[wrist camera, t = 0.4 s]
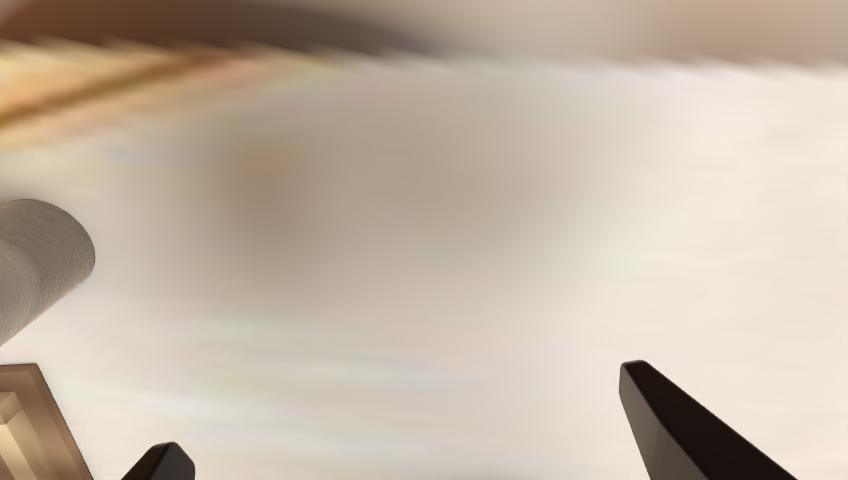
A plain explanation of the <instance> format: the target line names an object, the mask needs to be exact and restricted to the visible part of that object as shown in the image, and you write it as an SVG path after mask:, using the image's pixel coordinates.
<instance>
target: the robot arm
mask: <svg viewBox="0 0 848 480" xmlns="http://www.w3.org/2000/svg"><path fill="white" fill-rule="evenodd" d="M619 395H620V399H621V402H622V405H623V407H624V410H625V413H626V416H627V418H628V421H629V424H630V426H631V429H632V432H633V434H634V437H635V440H636V442H637V445H638V448H639V451H640V453H641V456H642V459H643V461H644V464H645V467H646V469H647V472H648V474H649V477H650V479H651V480H798V479H796V478H795V477H794V476H792V475H791V474H790V473H789V472H787V471H786V470H785V469H783V468H782V467H781V466H780V465H778V464H777V463H776V462H774V461H773V460H772V459H771V458H769V457H768V456H767V455H765V454H764V453H763V452H762V451H760V450H759V449H758V448H756V447H755V446H754V445H753V444H751V443H750V442H749V441H748V440H746V439H745V438H744V437H742V436H741V435H740V434H739V433H737V432H736V431H735V430H733V429H732V428H731V427H730V426H728V425H727V424H726V423H724V422H723V421H722V420H721V419H719V418H718V417H717V416H715V415H714V414H713V413H712V412H710V411H709V410H708V409H706V408H705V407H704V406H703V405H701V404H700V403H699V402H697V401H696V400H695V399H694V398H692V397H691V396H690V395H688V394H687V393H686V392H685V391H683V390H682V389H681V388H679V387H678V386H677V385H676V384H674V383H673V382H672V381H670V380H669V379H668V378H667V377H665V376H664V375H663V374H661V373H660V372H659V371H658V370H656V369H655V368H654V367H653V366H651V365H650V364H649V363H647V362H646V361H643V360H635V361H629V362H624V363H622V365H621V367H620V379H619ZM121 480H195V465H194V463H193V461H192V460H191V459H190V457H189V456H188V455H187V454H186V453H185V452H184V450H183V449H182V448H181V447H180V446H179V445H178V444H177V443H176V442H167V443H161V444H157V445H154V446H152V447H151V448H150V449H149V450H148V451H147V452H146V453H145V454H144V455H143V456H142V457H141V459H140V460H139V461H138V462H137V463H136V464H135V465H134V466H133V467H132V468H131V469H130V470H129V472H128V473H127V474H126V475H125V476H124V477H123V478H122V479H121Z"/></svg>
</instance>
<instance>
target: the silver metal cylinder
mask: <svg viewBox="0 0 848 480" xmlns="http://www.w3.org/2000/svg"><path fill="white" fill-rule="evenodd" d="M94 262H95V253H94V248H93V244H92V242H91V240H90V238H89V236H88V234H87V233H86V231H85V230H84V229H83V227H82V226H81V225H80V224H79V223H78V222H77V221H76V220H75V219H74V218H73V217H72V216H70V215H69V214H67V213H66V212H65V211H63V210H61V209H59V208H57V207H55V206H53V205H51V204H48V203H45V202H41V201H37V200H24V199H23V200H15V201H11V202H8V203H6V204H4V205H1V206H0V347H1V346H2V345H3V344H4V343H6V342H7V341H8V340H9V339H11V338H12V337H13V336H14V335H16V334H17V333H18V332H19V331H21V330H22V329H23V328H25V327H26V326H27V325H28V324H30V323H31V322H32V321H33V320H35V319H36V318H37V317H38V316H40V315H41V314H42V313H44V312H45V311H46V310H47V309H49V308H50V307H51V306H52V305H54V304H55V303H56V302H57V301H59V300H60V299H61V298H62V297H64V296H65V295H66V294H68V293H69V292H70V291H71V290H73V289H74V288H75V287H76V286H78V285H79V284H80V283H81V282H83V281H84V280H85V279H86V278H87V277H88V276H89V275H90V273H91V272H92V269H93V267H94Z"/></svg>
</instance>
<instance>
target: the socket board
mask: <svg viewBox="0 0 848 480" xmlns="http://www.w3.org/2000/svg"><path fill="white" fill-rule="evenodd" d="M0 480H93V478H92V476H91V474H90V472H89V470H88V468H87V466H86V464H85V462H84V460H83V458H82V456H81V454H80V452H79V450H78V448H77V446H76V443H75V441H74V439H73V437H72V435H71V433H70V431H69V429H68V427H67V425H66V423H65V421H64V419H63V417H62V415H61V413H60V411H59V409H58V407H57V405H56V403H55V401H54V399H53V397H52V395H51V393H50V391H49V389H48V387H47V384H46V382H45V380H44V378H43V376H42V374H41V372H40V370H39V368H38V366H37V364H25V365H6V366H0Z"/></svg>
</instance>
